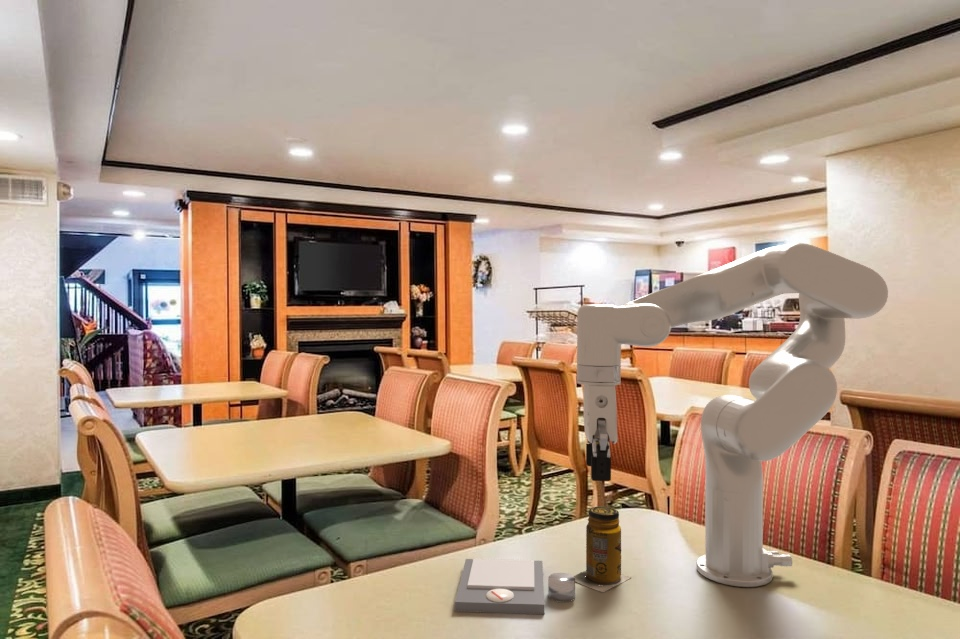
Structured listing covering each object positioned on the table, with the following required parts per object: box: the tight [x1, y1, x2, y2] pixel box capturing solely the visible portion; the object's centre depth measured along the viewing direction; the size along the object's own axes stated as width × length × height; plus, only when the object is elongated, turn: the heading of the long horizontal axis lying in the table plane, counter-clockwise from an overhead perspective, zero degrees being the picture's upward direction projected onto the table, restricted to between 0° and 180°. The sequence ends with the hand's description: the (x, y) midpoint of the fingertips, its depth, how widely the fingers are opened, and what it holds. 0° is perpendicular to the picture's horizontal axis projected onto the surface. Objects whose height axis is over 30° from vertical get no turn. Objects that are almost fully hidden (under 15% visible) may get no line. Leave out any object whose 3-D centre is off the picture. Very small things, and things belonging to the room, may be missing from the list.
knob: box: [547, 572, 576, 603], centre depth 104 cm, size 4×4×3 cm
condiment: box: [573, 505, 632, 593], centre depth 111 cm, size 7×8×12 cm
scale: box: [454, 558, 545, 615], centre depth 107 cm, size 14×17×2 cm
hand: (597, 472), depth 110 cm, fingers open, 9 cm apart
